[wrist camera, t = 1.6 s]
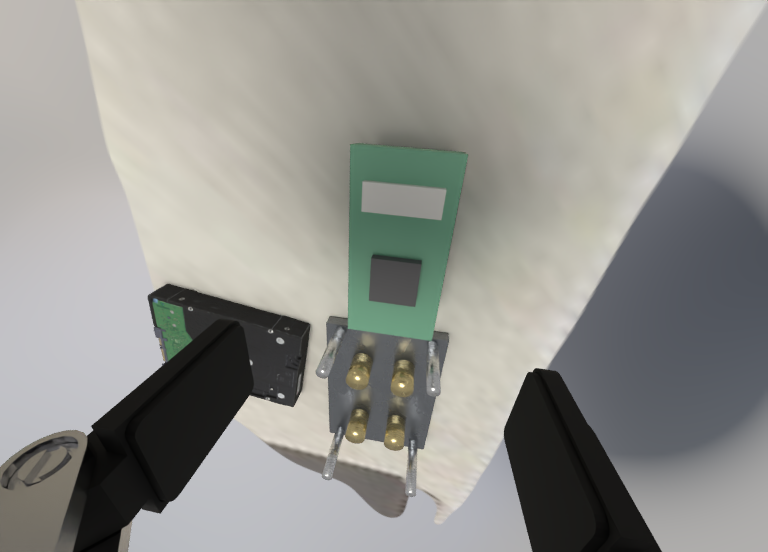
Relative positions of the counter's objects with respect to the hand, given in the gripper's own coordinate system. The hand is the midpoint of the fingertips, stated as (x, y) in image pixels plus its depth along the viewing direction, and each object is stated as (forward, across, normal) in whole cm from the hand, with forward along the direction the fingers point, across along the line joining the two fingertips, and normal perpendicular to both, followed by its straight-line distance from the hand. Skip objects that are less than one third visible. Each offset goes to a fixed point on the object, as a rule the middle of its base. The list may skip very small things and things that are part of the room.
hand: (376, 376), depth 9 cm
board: (+11, 0, -1) cm, 11 cm away
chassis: (+14, +1, +16) cm, 22 cm away
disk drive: (+15, +16, +13) cm, 26 cm away
